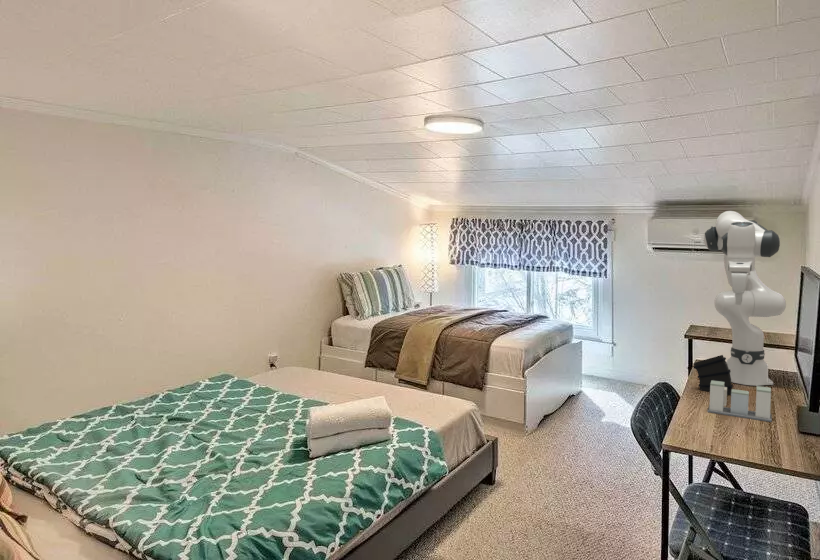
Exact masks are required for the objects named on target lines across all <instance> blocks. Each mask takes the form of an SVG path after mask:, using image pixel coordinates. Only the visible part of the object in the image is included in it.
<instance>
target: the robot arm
mask: <svg viewBox="0 0 820 560" xmlns="http://www.w3.org/2000/svg"><path fill="white" fill-rule="evenodd" d="M780 239H781V238H780V237H779V234H777V232H775V231H774V230H772V229H771V230H770V229H769V230H768V229H767V228H766V227H764V226H763V225H761V224H759V223H758V221H756V220H752V219H751V220H750V219H749V220H748V219H746V218H745V217H744V216H743V215H742V214H740V213H739V212H738V211H734V210H726V211H724V212H722V213H720V214H719V215H718V217H717V219H716V222H715V226H710V228H709V229H707V230H706V231H705V232H704V235H703V244H704V245H705V247H706V248H707V250H708V251H711V252H719V251H721V252H722V253H723V254H724V255H723V262H724V269H725V273H726V278H727V281H728V284H729V286H730V287H731V290H726V291H725V290H724V291H721V292H719V293H718V294H717V295H716V297H715V299H714V308H715V310H716V311H717V312H718V313H719V314H720V315H721V316H723V317H724V318H725V319H726V320H727V322H728V323H729V326H730V328H731V334H732V335H731V336H732V343H731V345H732V346H731V347H730V357H729V358H727V359H726V360H725V361H726V363H727V365H728V369H729V370H730V371H731V372H730V376H731V383H734V384H738V385H739V384H740V385H744V386H756V387H757V386H773V385H774V382H773V380H772V379H770V377H769V364H768V363H767V362H766V361H765V354H766V353H765V350H764V345H765V344H764V341H765V340H764V339H765V334H764V331H763V329H761V328H760V327H758V326H757V325H755V324H752V323H751V322H750V319H749V318H750V317H751V318H752V317H754V318H758V317H759V318H769V317H776V316H781V315H782V314H783V312H785V310H786V307H787V301H786V298H785V297H784V296H783V294H781V292H777V291H775V290H773V289H772V288H770V287H769V286H768V285H766V284H765V283H764V282H763V281H762V280H761V279H760V277H759V275H758V272H757V270H756V257H760V258H771V257H773V256H775V254H777V253H778V252H779V250H780V245H781V240H780Z"/></svg>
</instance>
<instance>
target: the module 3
mask: <svg viewBox="0 0 820 560" xmlns="http://www.w3.org/2000/svg"><path fill="white" fill-rule="evenodd" d="M755 391H756V394H755V412H756V413H755V417H762V418H768V419H770V414H771V402H772V400H771V399H772V388H771V387H768V386H762V385H760V386H756V390H755Z"/></svg>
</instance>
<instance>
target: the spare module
mask: <svg viewBox="0 0 820 560" xmlns="http://www.w3.org/2000/svg"><path fill="white" fill-rule="evenodd" d="M727 397H728V395H727V387H724V407H727V403H728V401H727V399H728V398H727Z"/></svg>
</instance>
